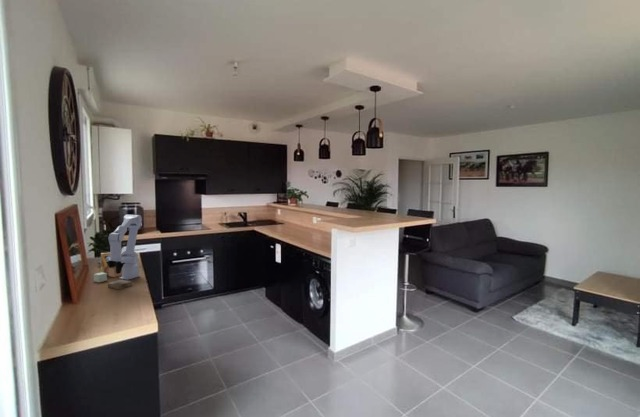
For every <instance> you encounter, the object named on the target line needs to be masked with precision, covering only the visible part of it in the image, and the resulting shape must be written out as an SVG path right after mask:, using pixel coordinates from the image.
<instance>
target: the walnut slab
mask: <svg viewBox="0 0 640 417" xmlns="http://www.w3.org/2000/svg"><path fill="white" fill-rule="evenodd" d="M131 286H133V282H132V281H131V280H126V279H118V280H114V281H112V282H111V281H110V282H107V288H110V289H115V290H121V289H124V288H127V287H131Z"/></svg>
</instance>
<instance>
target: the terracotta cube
mask: <svg viewBox="0 0 640 417" xmlns="http://www.w3.org/2000/svg"><path fill="white" fill-rule="evenodd" d="M120 276H122V270H121V273H119V274H117V273H116V267H111V268H109V274H108V277H112V278H113V277H114V278H115V277H120Z"/></svg>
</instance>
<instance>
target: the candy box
mask: <svg viewBox="0 0 640 417" xmlns="http://www.w3.org/2000/svg"><path fill="white" fill-rule="evenodd" d="M106 257H110V252H101V253H100V273H101V272H103V273H107V276H109V266H108V264H107V263H106V262H108V261H109V260H106Z"/></svg>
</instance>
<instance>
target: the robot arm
mask: <svg viewBox="0 0 640 417" xmlns="http://www.w3.org/2000/svg"><path fill="white" fill-rule="evenodd" d="M142 222H143V218H142V215H140V214H125V215H124V216H123V222H122V223H121V225H118V226H117V227H116V229H114V231H113V232H111V233H109V235H108V237H107V239H108V243H109V248H110V250H109V251H110V252H109V253H110V257H106V260H109V261H108V262H106V263H107V264H108V266H109V268H111V267H116V273H117V274H119V273H121V270H122V275H121V277H120V276H118V277H119V279H120V280H127V281H129V280H131V279H135V278H139V277H140V274H139V273H140V268H139V265H138V264H137V263H138V261H139V258H138V256H139V255H138V252H136V251H135V249H136V243H137V236H138V232H139V231H138V230H139V228H141V226H142ZM128 228H129V232H128V238H127V243H126V248H125V251H123V252H122V241H124V240H123V239H124V237H125V234H126V233H127V231H128Z"/></svg>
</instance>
